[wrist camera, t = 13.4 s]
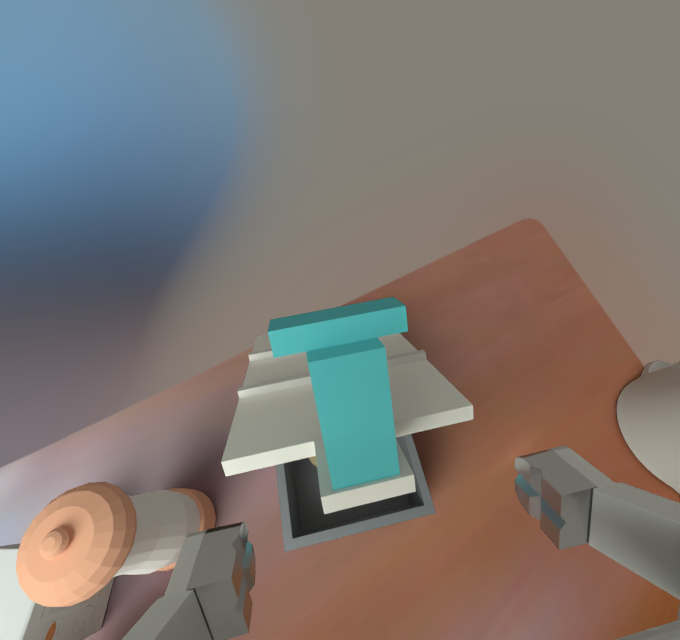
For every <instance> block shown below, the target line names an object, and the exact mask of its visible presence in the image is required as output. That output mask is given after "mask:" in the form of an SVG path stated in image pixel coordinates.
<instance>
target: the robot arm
mask: <svg viewBox="0 0 680 640" xmlns="http://www.w3.org/2000/svg"><path fill="white" fill-rule="evenodd" d="M617 418H618V423H619V427H620V430H621V432H622V435H623V437H624V439H625V441H626V443H627V444H628V446H629V447H630V449H631V450H632V452H633V453H634V455H635V456H636V457H637V458H638V460H639V461H640V462H641V463H642V464H643V465H644V466H645V467H646V468H647V469H648V470H649V471H650V472H651V473H653V474H654V475H655V476H656V477H658V478H659V479H660V480H662V481H663V482H665V483H666V484H668V485H669V486H670V487H672V488H673V489H675V490H676V491H677V492H678V493H679V494H680V361H679V362H676V363H674V364H669V363H665V362H662V361H653V362H650V363H648V364H647V365H646V366H645V368H644V369H643V372H642V374H641V376H640V377H639V378H638V379H636V380H634V381H633V382H631V383H629V384H628V385H627V386H626V387H625V388H624V389H623V390H622V392H621V394H620V396H619V398H618V402H617ZM515 469H516V470H517V471H518V472H519V475H518V476H517V478H516V479H515V491H516V494H517V496H518V499H519V501H520V503H521V504H522V506H523V508H524V509H525V510H526V511H527V513H528V514H529V515H531V516H533V517H535V518H537V519H539V520H540V527H541V529H542V530H543V532H544V533H545V534H546V535H547V536H548V538H549V539H550V540H551V541H552V542H553V543H554V545H555V546H556V547H557V548H558V549H559V550H560V549H565V548H569V547H573V546H578V545H582V544H586V543H589V545H590V546H591V547H593V548H595V549H596V550H598V551H600V552H601V553H603V554H605V555H606V556H608V557H610V558H611V559H613V560H615V561H616V562H618V563H620V564H621V565H623V566H625V567H626V568H628V569H630V570H631V571H633V572H634V573H636V574H638V575H639V576H641V577H643V578H644V579H646V580H648V581H649V582H651V583H653V584H654V585H656V586H658V587H659V588H661V589H663V590H664V591H666V592H668V593H669V594H671V595H673V596H674V597H676V598H678V599H679V600H680V503H678V502H675V501H672V500H669V499H666V498H664V497H661V496H658V495H655V494H652V493H650V492H647V491H644V490H641V489H638V488H636V487H633V486H630V485H627V484H624V483H622V482H619V483H615V482H613V481H612V480H611V479H609V478H608V477H607V476H605V475H604V474H603V473H602V472H600V471H599V470H598V469H596V468H595V467H594V466H592V465H591V464H590V463H588V462H587V461H586V460H585V459H583V458H582V457H581V456H579V455H578V454H577V453H575V452H574V451H573V450H572V449H570V448H569V447H566V446H560V447H556V448H552V449H548V450H544V451H540V452H536V453H532V454H528V455H524V456H520V457H517V458H516V460H515ZM247 538H248V529H247V526H246V523H244V522H240V523H235V524H231V525H226V526H221V527H216V528H211V529H207V530H204V531H199V532H194V533H189V534H188V535H187V537H186V538H185V539H184V542H183V545H182V548H181V550H180V553H179V556H178V559H177V562H176V564H175V567H174V570H173V573H172V576H171V578H170V581H169V584H168V587H167V590H166V592H165V595H164V597H161V598H158V599H157V600H156V601H155V602H154V603H153V604H152V606H151V607H150V608H149V609H148V610H147V611H146V612H145V614H144V615H143V616H142V617H141V618H140V619H139V620H138V622H137V623H136V624H135V625H134V626H133V627H132V628H131V629H130V631H129V632H128V633H127V634H126V635H125V636H124V637H123V639H122V640H227V639H230V638H234V637H237V636H240V635H244V634H247V633H249V628H250V620H251V611H252V600H251V597H250V593H249V592H250V591H251V589H252V588H253V586H254V584H255V555H254V550H253V546H252V544H251V543H249V542H248V541H247ZM615 640H680V605H679V610H678V615H677V621H674V622H671V623H667V624H664V625H661V626H658V627H654V628H651V629H648V630H644V631H641V632H638V633H634V634H631V635H628V636H624V637H621V638H618V639H615Z"/></svg>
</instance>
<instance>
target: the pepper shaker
mask: <svg viewBox="0 0 680 640" xmlns="http://www.w3.org/2000/svg"><path fill="white" fill-rule="evenodd" d="M215 523H216V515H215V508H214V506H213V504H212V502H211V500H210V498H209V497H208V496H206V495H205V494H204V493H203V492H200V491H198V490H195V489H186V488H173V489H169V490H155V491H151V492H147V493H143V494H139V495H135V496H127V495H126V494H125V493H124V492H123V491H122V490H121V489H120V488H119V487H118V486H115V485H112V484H109V483H107V482H96V483H88V484H85V485H82V486H79V487H76V488H73V489H70V490H68V491H66V492H64V493H63V494H61V495H60V496H58V497H57V498H56V499H54V500H53V501H51V502H50V503H49V504H48V505H47V506H46V507H45V508H44V509H43V510H42V511H41V512H40V513H39V515H38V516H37V517H36V518H35V519H34V520H33V521H32V523H31V525H30V526H29V528H28V529H27V531H26V532H25V534H24V536H23V539H22V541H21V544H20V547H19V549H18V552H17V561H16V573H17V577H18V581H19V585H20V587H21V589H22V590H23V591H24V592H25V594H26V595H27V596H28V598H29V599H30V600H31V601H33V602H36V603H38V604H40V605H43V606H46V607H65V606H72V605H74V604H77V603H79V602H81V601H84V600H86V599H89V598H90V597H91V596H93V595H94V594H95V593H96V592H98V591H99V590H100V589H102V588H103V587H104V586H105V585H107V584H108V583H109V582H110V581H111V579H112V578H113V577H115V576H119V575H122V574H125V575H137V574H149V573H152V572H154V571H168V570H171V569H173V568H174V567H175V564H176V562H177V559H178V556H179V553H180V550H181V548H182V545H183V542H184V539H185V538H186V537H187V535H188V534H189V533H194V532H199V531H204V530H207V529H211V528H215Z"/></svg>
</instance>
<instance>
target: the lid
mask: <svg viewBox="0 0 680 640" xmlns="http://www.w3.org/2000/svg"><path fill="white" fill-rule="evenodd" d="M407 331H408V326H407V316H406V306H405V305H404V304H402V303H401V302H400V301H398V300H397V299H395V298H394V297H389V298H384V299H379V300H373V301H368V302H363V303H357V304H352V305H347V306H341V307H336V308H331V309H325V310H320V311H315V312H309V313H304V314H299V315H293V316H288V317H282V318H277V319H272V320H270V324H269V329H268V334H265V335H260V336H257V338H256V342H255V345H254V348H253V352H251V353H249V355H248V356H249V360H250V362H249V366H248V369H247V373H246V376H245V380H244V383H243V387H239V388H238V391H237V392H238V396H239V401H238V405H237V408H236V412H235V415H234V419H233V422H232V426H231V429H230V433H229V436H228V440H227V443H226V447H225V450H224V454H223V457H222V461H221V463H222V466H223V469H224V473H225V476H230V475H235V474H239V473H243V472H248V471H252V470H256V469H261V468H265V467H269V466H274V465H278V464H282V463H287V462H291V461H295V460H300V459H304V458H308V457H313V456H316V462H317V470H318V479H319V488H320V496H321V501H322V506H323V511H324V514H327V513H331V512H335V511H339V510H343V509H347V508H351V507H355V506H360V505H364V504H368V503H372V502H376V501H380V500H384V499H388V498H392V497H396V496H400V495H404V494H408V493H412V492H416V490H415V480H414V474H413V472H412V470H411V468H410V466H409V464H408V462H407V460H406V458H405V456H404V454H403V452H402V450H401V448H400V446H399V444H398V442H397V440H396V437H399V436H404V435H408V434H412V433H417V432H421V431H425V430H430V429H434V428H438V427H443V426H447V425H451V424H456V423H460V422H464V421H469V420H473V405H472V404H471V403H470V402H469V401H468V400H467V399H466V398H465V397H464V396H463V395H462V394H461V393H460V392H459V391H458V390H457V389H456V388H455V387H454V386H453V385H452V384H451V383H450V382H449V381H448V380H447V379H446V378H445V377H444V376H443V375H442V374H441V373H440V372H439V371H438V370H437V369H436V368H435V367H434V366H433V365H432V364H431V363H430V362H429V361H428V360H427V359H426V352H425V351H424V350H419V351H418V350H417V349H416V348H415V347H414V346H413V345H412V344H411V343H410V342H409V341H407V340H406V339H405V338H404V337H403V336H402V335H401V334H400V333H402V332H407Z"/></svg>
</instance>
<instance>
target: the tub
mask: <svg viewBox="0 0 680 640" xmlns="http://www.w3.org/2000/svg"><path fill="white" fill-rule="evenodd" d="M396 440H397V442H398V444H399V446H400V448H401V450H402V452H403V454H404V456H405V458H406V460H407V462H408V464H409V466H410V468H411V470H412V472H413V474H414V480H415V490H416V492H412V493H408V494H404V495H400V496H396V497H392V498H388V499H384V500H380V501H376V502H372V503H368V504H364V505H360V506H355V507H351V508H347V509H343V510H339V511H335V512H331V513H327V514H324V511H323V506H322V501H321V496H320V488H319V479H318V470H317V462H316V456H313V457H308V458H304V459H300V460H295V461H291V462H287V463H282V464H278V465H275V466H276V475H277V484H278V494H279V503H280V512H281V521H282V531H283V540H284V549H285V552H286V551H290V550H294V549H298V548H302V547H306V546H309V545H313V544H317V543H321V542H325V541H329V540H333V539H337V538H340V537H344V536H348V535H352V534H356V533H360V532H364V531H368V530H372V529H375V528H379V527H383V526H387V525H391V524H395V523H399V522H403V521H406V520H410V519H414V518H418V517H422V516H426V515H430V514H434V513H436V512H435V508H434V505H433V502H432V499H431V496H430V492H429V489H428V486H427V483H426V479H425V476H424V473H423V470H422V467H421V463H420V460H419V457H418V454H417V450H416V447H415V444H414V441H413V438H412V434H408V435H404V436H399V437H396Z"/></svg>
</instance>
